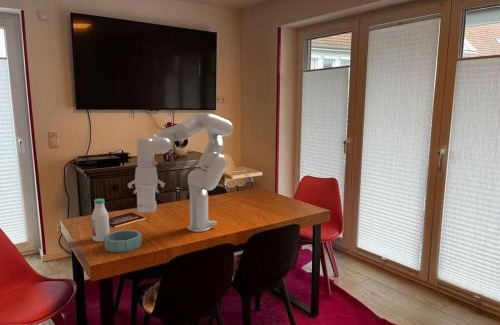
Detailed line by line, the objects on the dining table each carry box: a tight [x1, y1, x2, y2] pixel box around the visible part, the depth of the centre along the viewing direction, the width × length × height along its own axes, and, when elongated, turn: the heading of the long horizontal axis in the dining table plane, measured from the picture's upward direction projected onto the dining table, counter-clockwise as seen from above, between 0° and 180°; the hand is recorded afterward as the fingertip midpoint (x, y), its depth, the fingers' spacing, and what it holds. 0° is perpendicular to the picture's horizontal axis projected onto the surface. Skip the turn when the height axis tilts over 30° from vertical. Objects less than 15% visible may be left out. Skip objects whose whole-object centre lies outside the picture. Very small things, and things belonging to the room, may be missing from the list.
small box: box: [136, 185, 157, 213], centre depth 177 cm, size 8×6×13 cm
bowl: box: [103, 229, 143, 253], centre depth 175 cm, size 16×16×5 cm
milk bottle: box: [91, 198, 111, 243], centre depth 182 cm, size 8×8×20 cm
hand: (146, 200), depth 177 cm, fingers closed on small box, 8 cm apart
